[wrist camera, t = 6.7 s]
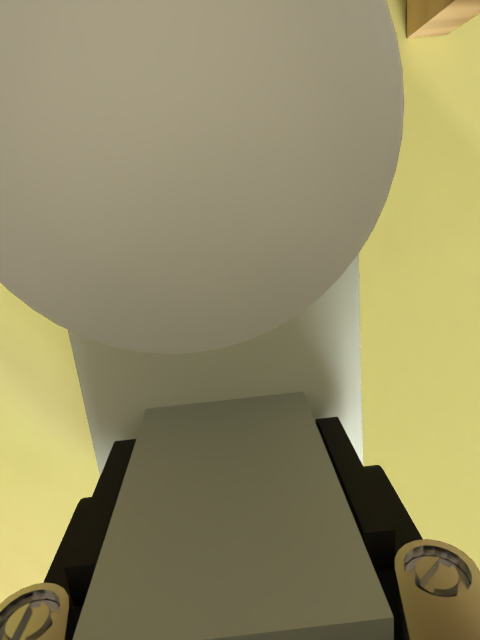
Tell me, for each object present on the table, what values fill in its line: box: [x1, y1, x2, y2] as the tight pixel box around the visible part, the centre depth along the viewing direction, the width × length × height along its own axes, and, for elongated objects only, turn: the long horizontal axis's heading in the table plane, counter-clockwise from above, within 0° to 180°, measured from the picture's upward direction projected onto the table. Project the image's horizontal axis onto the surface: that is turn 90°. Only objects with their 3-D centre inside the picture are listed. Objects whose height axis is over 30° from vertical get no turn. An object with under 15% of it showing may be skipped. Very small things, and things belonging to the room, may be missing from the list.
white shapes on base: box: [0, 0, 404, 640], centre depth 10 cm, size 7×20×8 cm, turn 6°
